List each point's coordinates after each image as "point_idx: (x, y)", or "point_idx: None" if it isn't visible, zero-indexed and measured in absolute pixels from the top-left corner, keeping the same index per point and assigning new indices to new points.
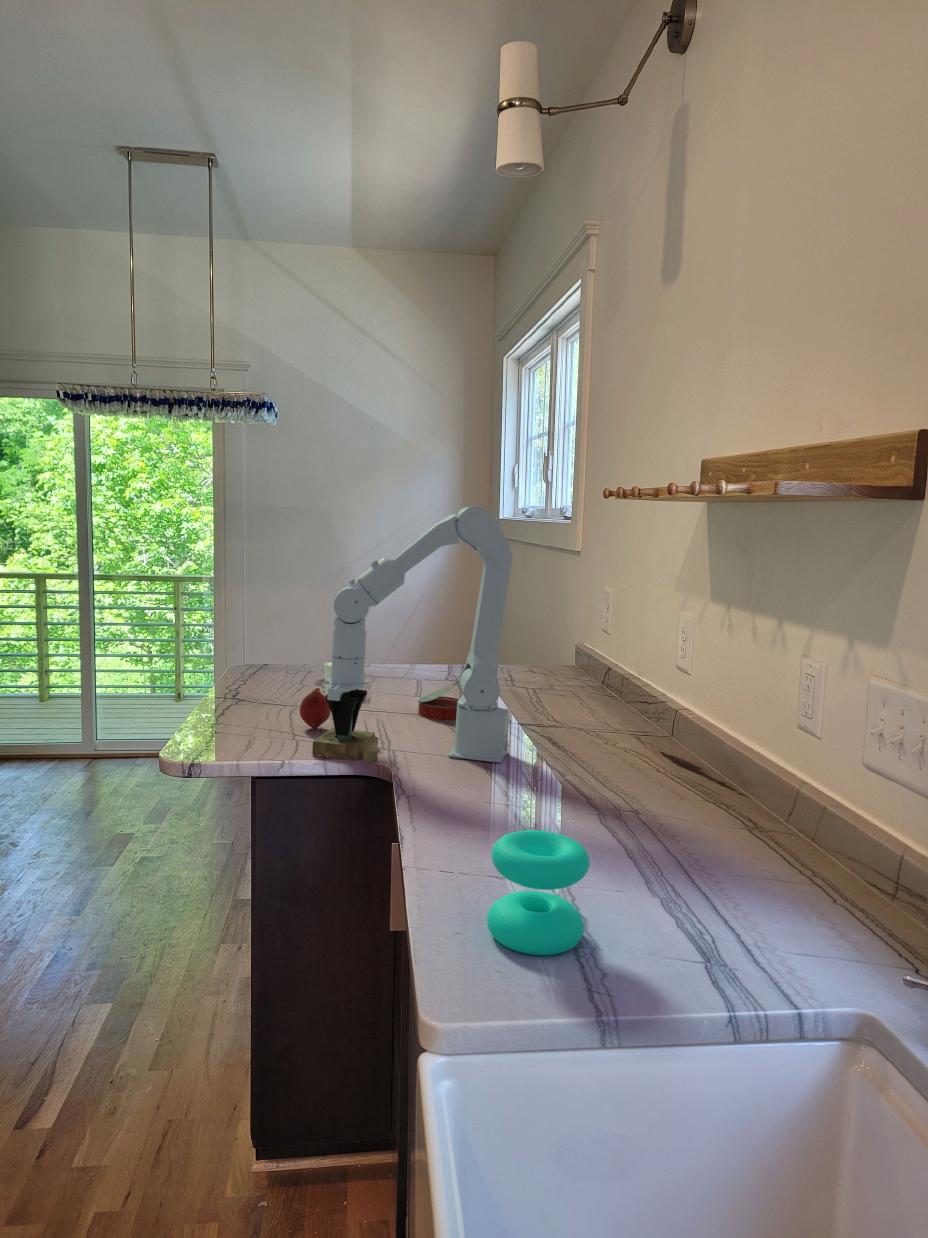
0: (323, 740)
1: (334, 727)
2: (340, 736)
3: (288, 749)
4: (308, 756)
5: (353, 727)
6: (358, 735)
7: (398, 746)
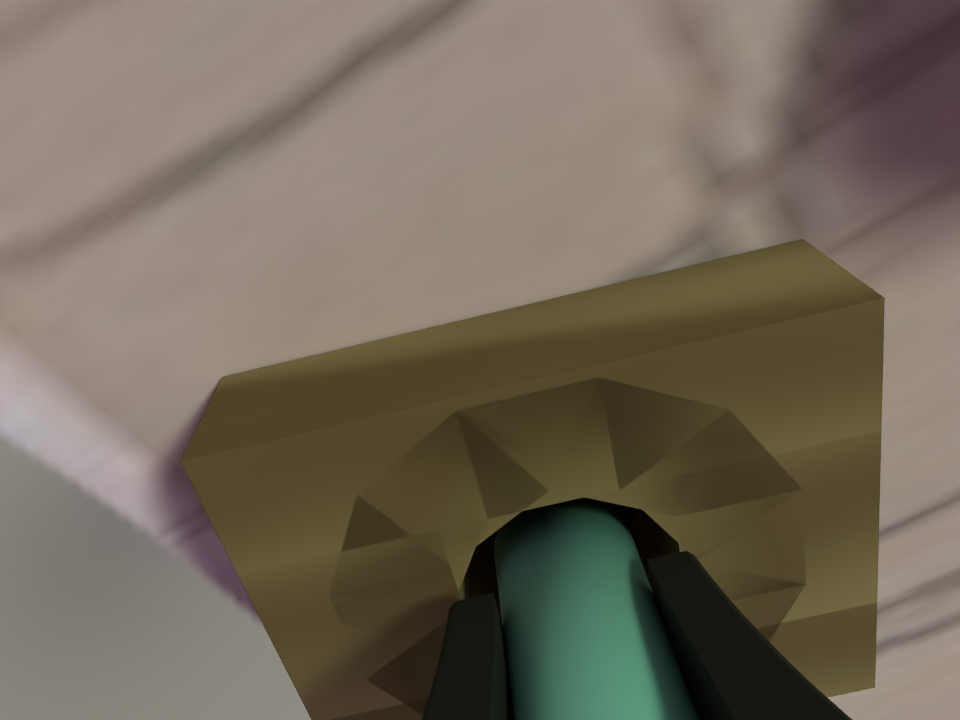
0: (295, 524)
1: (442, 658)
2: (501, 600)
3: (222, 29)
4: (180, 360)
5: None
6: None
7: (888, 695)
